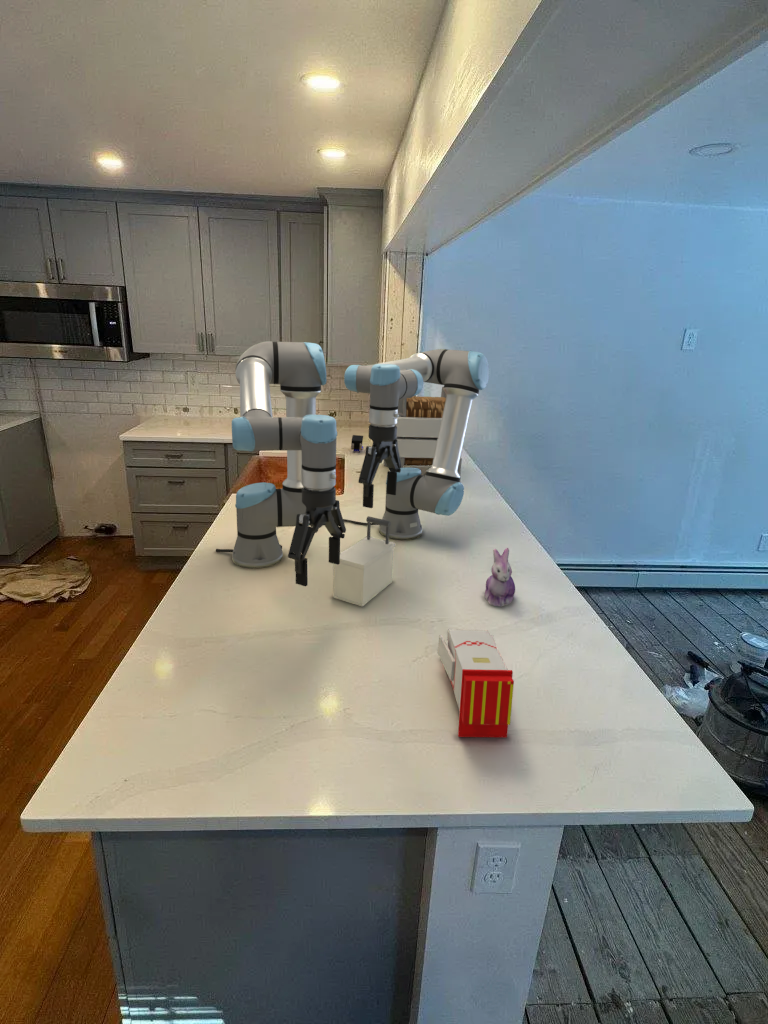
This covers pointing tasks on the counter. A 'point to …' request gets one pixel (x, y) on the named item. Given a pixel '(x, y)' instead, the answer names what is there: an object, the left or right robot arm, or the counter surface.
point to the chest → (362, 580)
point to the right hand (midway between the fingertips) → (379, 500)
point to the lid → (367, 547)
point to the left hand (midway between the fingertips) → (318, 573)
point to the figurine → (500, 581)
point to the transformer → (419, 429)
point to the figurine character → (356, 443)
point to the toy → (478, 682)
